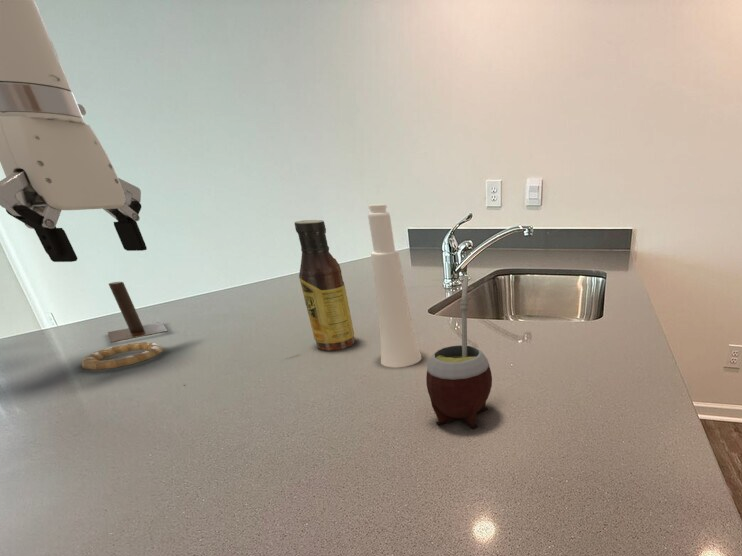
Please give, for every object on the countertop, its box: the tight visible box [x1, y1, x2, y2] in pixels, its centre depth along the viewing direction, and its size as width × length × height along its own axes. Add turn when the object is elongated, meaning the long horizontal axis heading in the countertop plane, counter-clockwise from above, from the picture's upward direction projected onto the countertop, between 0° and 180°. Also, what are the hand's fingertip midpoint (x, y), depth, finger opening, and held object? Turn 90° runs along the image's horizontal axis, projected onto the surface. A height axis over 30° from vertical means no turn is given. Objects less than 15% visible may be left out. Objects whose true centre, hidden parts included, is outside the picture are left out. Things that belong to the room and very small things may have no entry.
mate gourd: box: [425, 275, 493, 430], centre depth 44 cm, size 8×8×15 cm
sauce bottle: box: [294, 219, 356, 352], centre depth 64 cm, size 6×6×20 cm
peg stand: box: [107, 281, 168, 344], centre depth 74 cm, size 8×8×10 cm
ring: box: [81, 341, 164, 371], centre depth 64 cm, size 10×10×2 cm
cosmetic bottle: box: [367, 203, 422, 368], centre depth 57 cm, size 6×6×22 cm
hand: (103, 255), depth 56 cm, fingers open, 9 cm apart
